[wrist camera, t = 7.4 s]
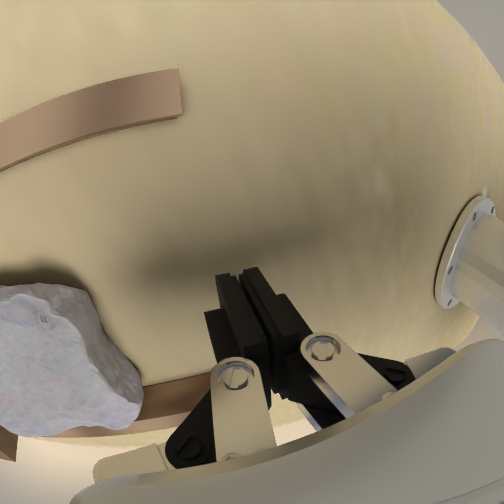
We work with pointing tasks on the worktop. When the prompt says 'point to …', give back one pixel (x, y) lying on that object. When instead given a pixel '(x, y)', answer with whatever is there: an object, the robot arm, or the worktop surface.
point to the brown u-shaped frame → (79, 128)
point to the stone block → (60, 364)
